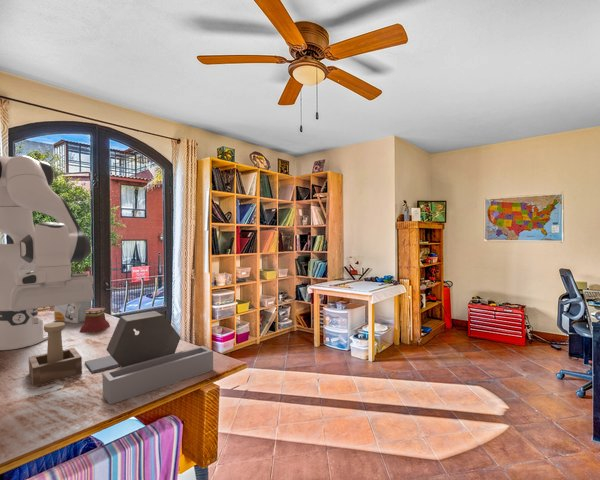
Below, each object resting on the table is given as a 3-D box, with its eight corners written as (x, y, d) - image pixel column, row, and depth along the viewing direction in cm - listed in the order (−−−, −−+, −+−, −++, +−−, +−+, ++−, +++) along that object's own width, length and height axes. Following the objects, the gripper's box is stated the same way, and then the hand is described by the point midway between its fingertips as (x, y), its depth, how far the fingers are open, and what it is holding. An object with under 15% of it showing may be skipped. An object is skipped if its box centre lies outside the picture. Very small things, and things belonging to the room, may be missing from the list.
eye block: (29, 373, 98) (28, 357, 98) (74, 362, 106) (74, 347, 106) (33, 385, 90) (32, 368, 90) (81, 373, 98) (81, 357, 98)
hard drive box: (53, 321, 158) (52, 280, 157) (68, 317, 165) (68, 278, 165) (77, 323, 153) (76, 281, 153) (92, 319, 161) (91, 279, 160)
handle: (49, 379, 94) (48, 328, 94) (42, 373, 98) (41, 324, 98) (68, 373, 98) (67, 324, 98) (61, 368, 102) (60, 321, 102)
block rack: (102, 395, 85) (102, 372, 85) (202, 364, 105) (202, 345, 105) (109, 404, 80) (109, 380, 80) (213, 370, 100) (213, 350, 100)
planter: (181, 343, 111) (145, 298, 103) (190, 349, 105) (152, 301, 97) (136, 382, 102) (93, 336, 94) (144, 391, 96) (99, 343, 88)
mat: (84, 363, 105) (84, 361, 105) (118, 355, 112) (118, 353, 112) (92, 373, 98) (92, 370, 98) (127, 363, 105) (127, 361, 105)
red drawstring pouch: (110, 326, 148) (110, 307, 148) (98, 332, 139) (98, 311, 139) (91, 326, 148) (91, 307, 148) (79, 332, 139) (78, 311, 139)
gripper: (90, 271, 107) (92, 312, 107) (8, 278, 93) (9, 325, 93) (95, 272, 103) (96, 315, 103) (9, 279, 88) (11, 329, 88)
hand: (54, 320), depth 98 cm, fingers open, 8 cm apart
